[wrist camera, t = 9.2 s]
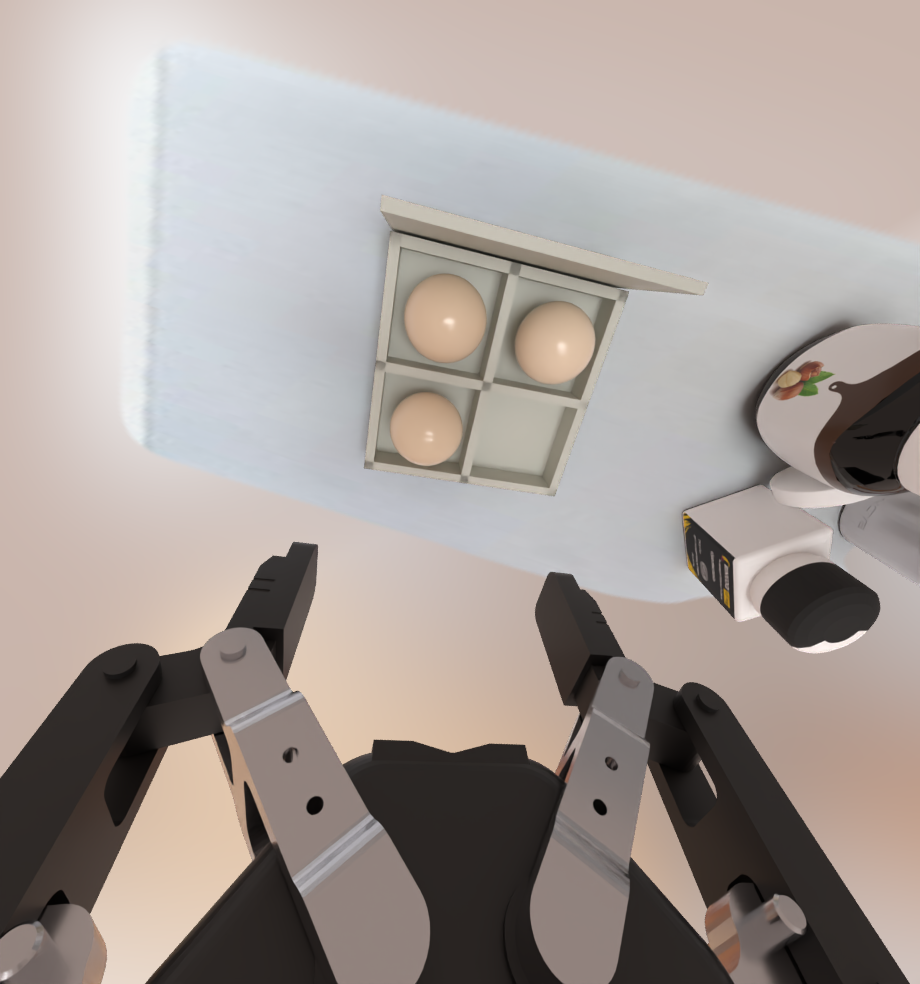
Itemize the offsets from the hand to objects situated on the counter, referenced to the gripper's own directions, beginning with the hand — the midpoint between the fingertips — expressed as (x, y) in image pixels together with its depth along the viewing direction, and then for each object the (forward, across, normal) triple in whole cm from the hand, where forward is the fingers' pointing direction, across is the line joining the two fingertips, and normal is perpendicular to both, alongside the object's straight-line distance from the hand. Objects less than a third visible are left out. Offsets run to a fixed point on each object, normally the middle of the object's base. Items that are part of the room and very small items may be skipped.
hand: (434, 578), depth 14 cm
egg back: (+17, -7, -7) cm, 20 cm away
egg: (+17, 0, 0) cm, 17 cm away
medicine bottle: (+18, -28, +6) cm, 34 cm away
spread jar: (+18, -29, -6) cm, 35 cm away
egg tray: (+18, -3, -4) cm, 18 cm away
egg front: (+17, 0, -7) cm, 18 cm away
